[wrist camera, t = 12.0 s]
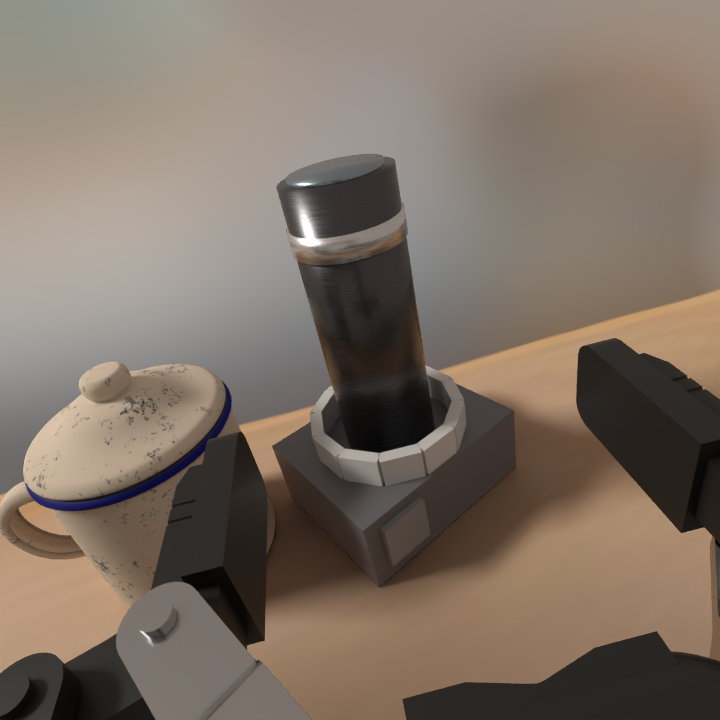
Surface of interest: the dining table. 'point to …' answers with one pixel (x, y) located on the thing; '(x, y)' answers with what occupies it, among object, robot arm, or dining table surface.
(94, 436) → the teacup with lid
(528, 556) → the dining table surface
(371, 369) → the lens
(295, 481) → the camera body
